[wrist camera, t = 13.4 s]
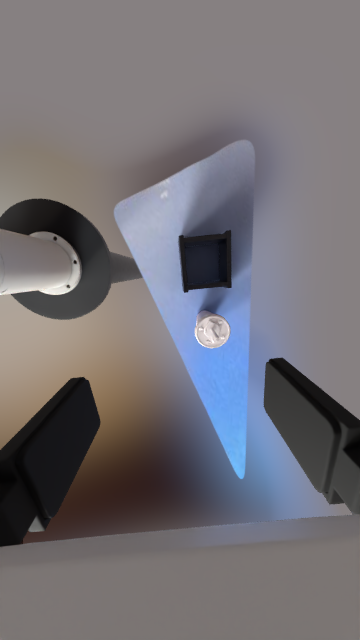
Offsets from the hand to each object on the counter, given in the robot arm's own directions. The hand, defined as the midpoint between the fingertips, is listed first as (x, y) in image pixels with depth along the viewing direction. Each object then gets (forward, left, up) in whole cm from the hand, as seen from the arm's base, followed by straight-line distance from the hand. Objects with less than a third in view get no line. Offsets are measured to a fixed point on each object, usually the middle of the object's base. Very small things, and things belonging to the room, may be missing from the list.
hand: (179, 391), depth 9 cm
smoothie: (+6, -5, -30) cm, 31 cm away
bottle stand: (+6, +7, -30) cm, 32 cm away
